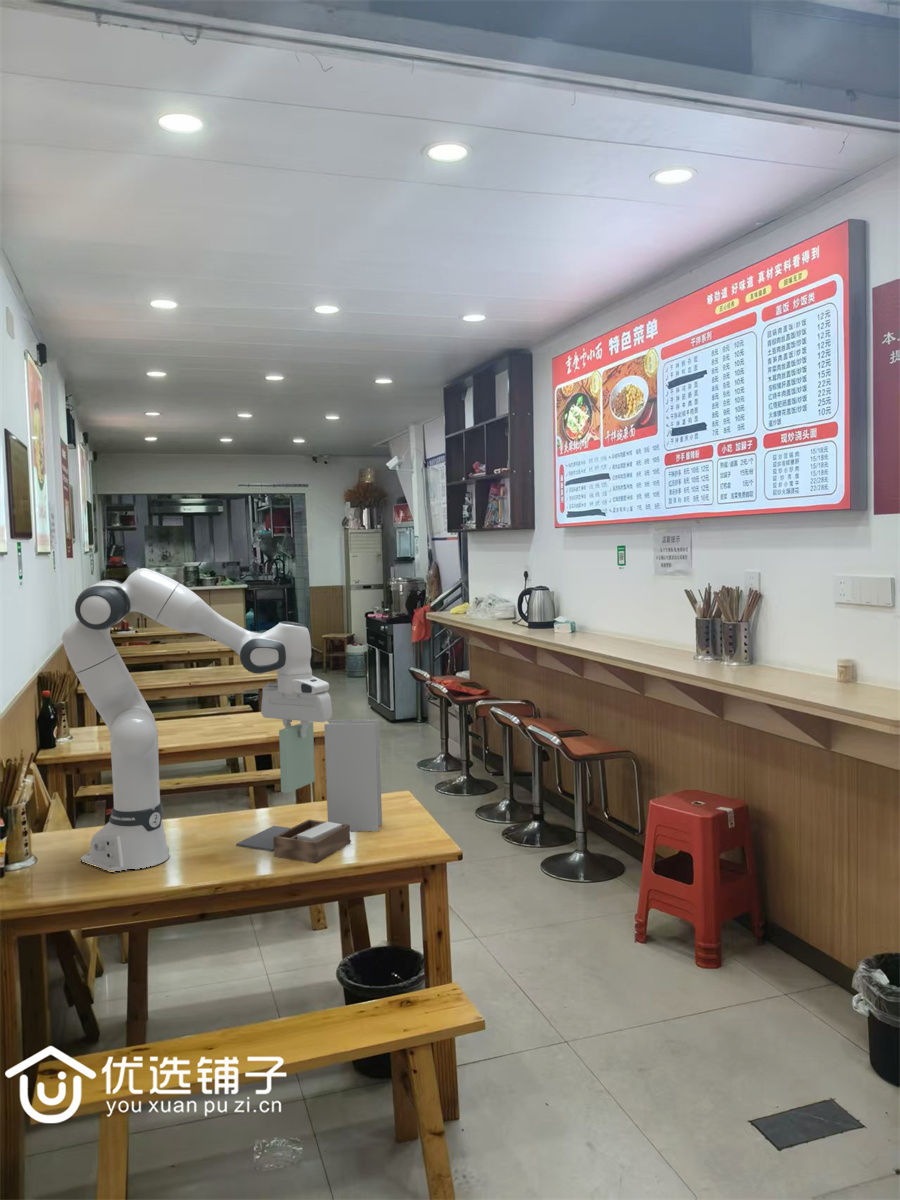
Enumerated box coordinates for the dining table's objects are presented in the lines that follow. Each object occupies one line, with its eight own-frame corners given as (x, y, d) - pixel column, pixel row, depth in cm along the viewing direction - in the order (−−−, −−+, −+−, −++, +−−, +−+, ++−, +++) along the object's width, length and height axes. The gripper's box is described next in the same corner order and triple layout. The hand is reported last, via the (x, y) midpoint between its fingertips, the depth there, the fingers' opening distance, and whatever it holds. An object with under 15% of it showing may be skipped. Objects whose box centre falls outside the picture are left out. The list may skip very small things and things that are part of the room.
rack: (274, 856, 217) (273, 837, 217) (309, 837, 231) (309, 819, 231) (316, 863, 212) (315, 843, 211) (350, 843, 226) (349, 824, 225)
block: (281, 792, 217) (279, 730, 217) (308, 780, 228) (306, 721, 227) (287, 793, 216) (285, 730, 216) (314, 781, 227) (313, 721, 226)
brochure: (382, 825, 240) (378, 719, 239) (378, 831, 235) (375, 723, 233) (332, 825, 242) (329, 720, 240) (328, 831, 236) (324, 724, 234)
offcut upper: (297, 846, 217) (297, 834, 216) (327, 832, 227) (326, 821, 227) (312, 849, 214) (312, 837, 214) (342, 835, 224) (341, 824, 224)
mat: (236, 845, 226) (236, 843, 226) (273, 827, 241) (273, 825, 241) (272, 851, 221) (272, 849, 221) (309, 832, 235) (309, 830, 235)
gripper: (255, 683, 223) (256, 736, 223) (320, 687, 214) (322, 742, 214) (270, 680, 228) (272, 731, 229) (334, 683, 219) (336, 737, 220)
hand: (296, 736), depth 222 cm, fingers closed on block, 2 cm apart
